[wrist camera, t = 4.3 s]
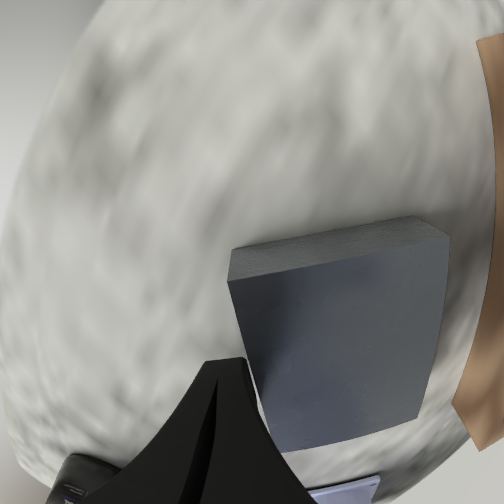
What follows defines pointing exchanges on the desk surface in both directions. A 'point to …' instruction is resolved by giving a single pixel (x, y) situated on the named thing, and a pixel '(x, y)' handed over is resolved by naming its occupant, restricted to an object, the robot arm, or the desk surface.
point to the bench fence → (489, 288)
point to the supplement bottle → (79, 479)
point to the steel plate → (341, 327)
